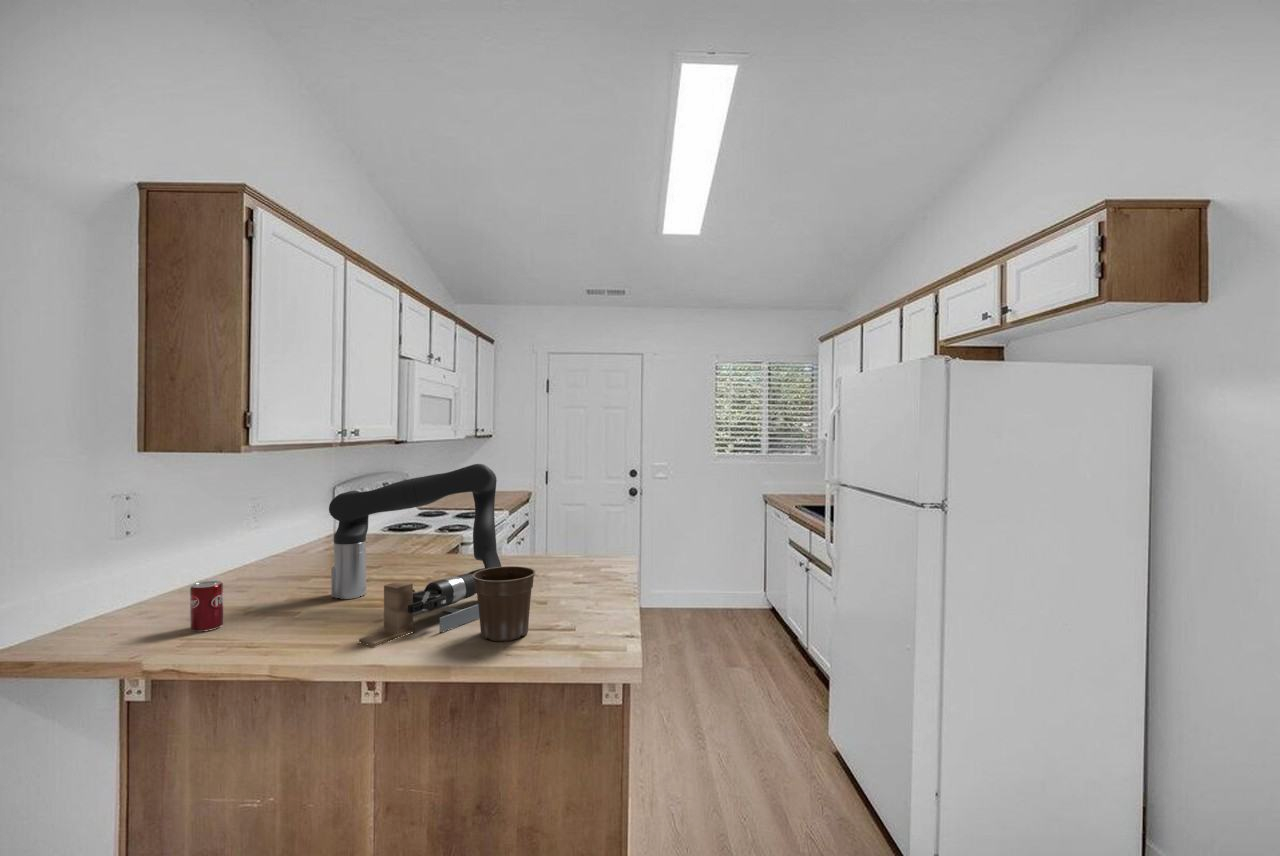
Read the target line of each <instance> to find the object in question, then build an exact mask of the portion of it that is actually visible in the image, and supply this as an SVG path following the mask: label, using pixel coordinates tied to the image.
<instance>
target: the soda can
mask: <svg viewBox="0 0 1280 856" xmlns="http://www.w3.org/2000/svg"><path fill="white" fill-rule="evenodd" d="M189 601H190V604H189V605H190V607H189V613H190V614H189V617H190V619H189V620H190V621H189V622H190V623H189V625H190V630H191V631H192V630H193V631H192V632H194V631H205V630H210V629H215V628H217V627H220V626H221V625H222V626H223V625H224V583H223V582H222V581H220V580H208V581H207V580H206V581H200V582H197V583H194V584H192V585H191V586H190V587H189ZM222 626H221V627H222ZM221 627H220V628H221Z"/></svg>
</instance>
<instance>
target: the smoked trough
mask: <svg viewBox="0 0 1280 856" xmlns="http://www.w3.org/2000/svg"><path fill="white" fill-rule="evenodd" d="M426 610H427V611H428V609H426ZM426 610H425V611H424V612H426ZM441 611H442V613H444V612H446V613H445V614H446V615H443V616H441V617H439V633H440V632H443V631H446V630H448V629H451V628H454V627H456V628H458V627H457V626H459V625H461V626H463V625H462V624H464V625H466V624H465V623H467V622H469V623H471V622H470V621H472V622H474V621H477V620H479V619H478V618H479V607H478V603H477V604H475V605H472V606H469V607H466V608H464V609H459V608H454V607H449V608H446V609H442V610H441ZM420 612H421V613H424V612H423V611H422V610H420V611H417V612H414V613H413V614H415V615H418V614H421V613H420ZM417 613H418V614H417ZM449 613H451V614H449ZM476 619H477V620H476ZM473 620H474V621H473ZM467 624H468V623H467ZM459 627H460V626H459ZM454 629H455V628H454ZM451 630H452V629H451ZM448 631H449V630H448ZM446 632H447V631H446ZM443 633H444V632H443Z"/></svg>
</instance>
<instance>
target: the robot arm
mask: <svg viewBox="0 0 1280 856" xmlns="http://www.w3.org/2000/svg"><path fill="white" fill-rule="evenodd" d="M496 489H497V476H496V473H495V472H494V471H493V470H492V469H491V468H490V467H489V466H488V465H486V464H482V463H474V464H471V465H468V466H465V467H462V468H458V469H454V470H452V471H448V472H443V473H442V472H441V473H436V474H431V475H424V476H417V477H414V478H409V479H404V480H401V481H397V482H393V483H390V484H387V485H385V486H382V487H379V488H376V489H371V490H367V491H359V490H350V491H345V492H342V493H339V494H338V495H336V496H335V497H333V499H331V501H330V502H329V506H328V512H329V515H330V516H331V517H332V518H333V519H334V520H336V521H338V527H337V530H336V532H334V535H333V554H334V555H333V556H334V557H333V559H334V560H333V562H334V563H333V564H334V566H332V567H331V572H330V573H331V582H330V583H331V586H330V587H331V592H330V594H331V598H332V597H335V598H334V599H337V598H340V600H349V599H357V598H361V597H363V595H364V596H366V595H367V533H368V531H369V517H370V516H369V515H374V514H377V513H386V512H393V511H396V512H397V511H400V510H401V511H402V510H408V509H412V508H413V509H414V508H418V507H423V506H427V505H430V504H433V503H434V502H437V501H439V500H441V499H443V498H445V497H447V496H451V495H455V494H456V495H457V494H463V493H472V496H473V501H474V520H473V526H472V527H473V528H472V544H473V557H474V559H475V560H476V561H482V563H483V568H479V569H475V570H472V571H470V572H467V573H462V574H459V575H456V576H450V577H445V578H442V579H439V580H435V581H432V582H429V583H428V584H426V586H425V588H424V590H423V589H422V590H418V591H415V589H413V604H410V605H408V613H414V612H417V611H420V610H422V611H424V612H426V611H425V610H426V609H428V610H427V611H428V612H432V611H435V610H438V609H439V610H440V609H442V608H444V607H447V606H450V605H453V604H457V603H458V602H460V601H463V600H465V599H468V598H470V597H471V598H472V597H473V596H475V595H477V592H476V590H475V582H474V579H473V577H472V575H473V574H474V573H475V572H477V571H480V570H483V569H488V568H494V567H503V566H502V564H501V560H500V557H499V555H498V551H497V550H498V549H497V535H496V522H495V521H496V520H495V504H496V503H495V500H496ZM360 596H361V597H360Z"/></svg>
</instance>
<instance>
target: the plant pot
mask: <svg viewBox="0 0 1280 856" xmlns="http://www.w3.org/2000/svg"><path fill="white" fill-rule="evenodd" d="M535 575H536V571H535V569H533V568H531V567H525V566H516V565H515V566H513V565H512V566H509V565H508V566H507V565H505V566H502V567H494V568H488V569H483V570H480V571H477V572H475V573H474V574H473V575H472V577H473V579H474V582H475V590H476V592H477V593H476V597H477V604H478V607H479V618H480V619H479V627H480V636H481V637H482V639H484V640H488V639H489V640H490V641H492V642H507V641H508V642H509V641H513V640H517V639H520V638H521V636H522V637H526V635H528V633H529V624H530V623H529V621H530V620H529V619H530V611H531V607H530V606H531V599H532V597H531V596H532V589H533V587H534V576H535Z"/></svg>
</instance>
